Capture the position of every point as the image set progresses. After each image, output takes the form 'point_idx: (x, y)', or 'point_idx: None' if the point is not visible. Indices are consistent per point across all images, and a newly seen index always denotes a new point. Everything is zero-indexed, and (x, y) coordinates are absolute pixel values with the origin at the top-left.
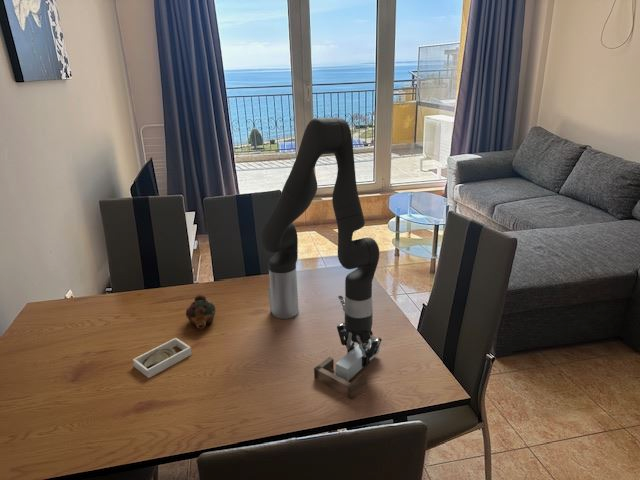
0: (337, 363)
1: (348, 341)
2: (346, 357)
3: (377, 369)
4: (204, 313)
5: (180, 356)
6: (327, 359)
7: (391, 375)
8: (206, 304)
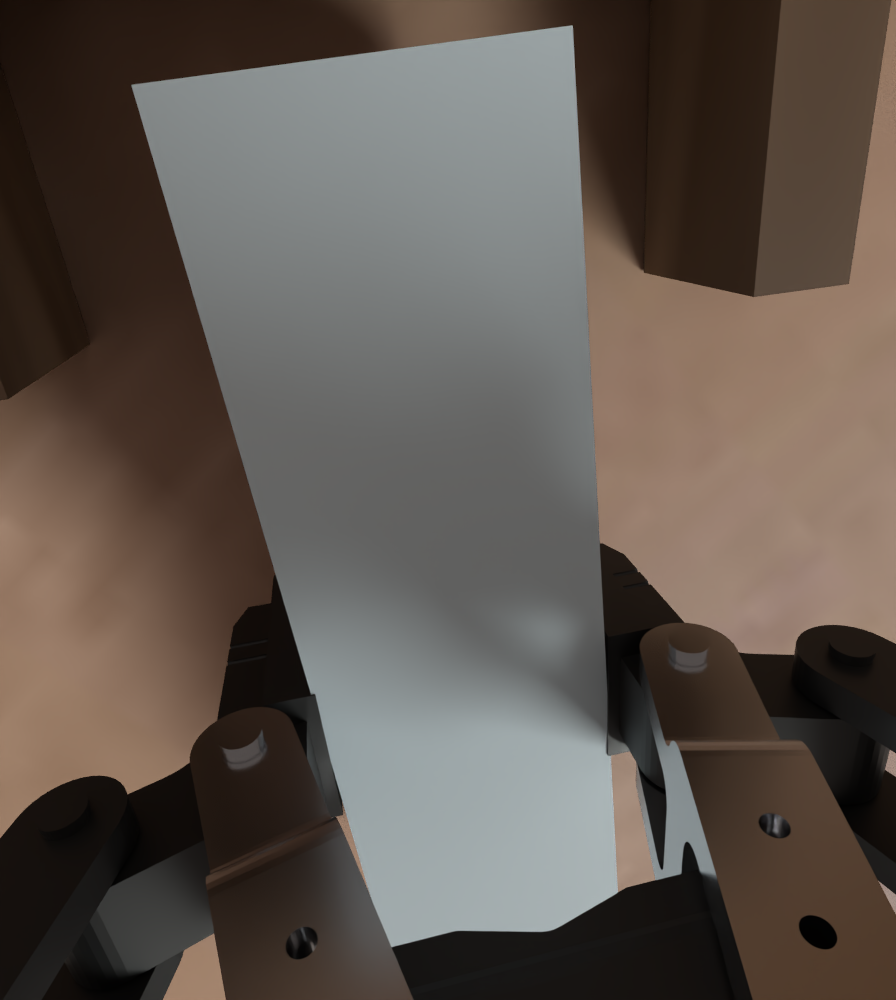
0: (530, 66)
1: (772, 793)
2: (524, 435)
3: (218, 690)
4: None
5: None
6: (837, 188)
7: (6, 741)
8: None
